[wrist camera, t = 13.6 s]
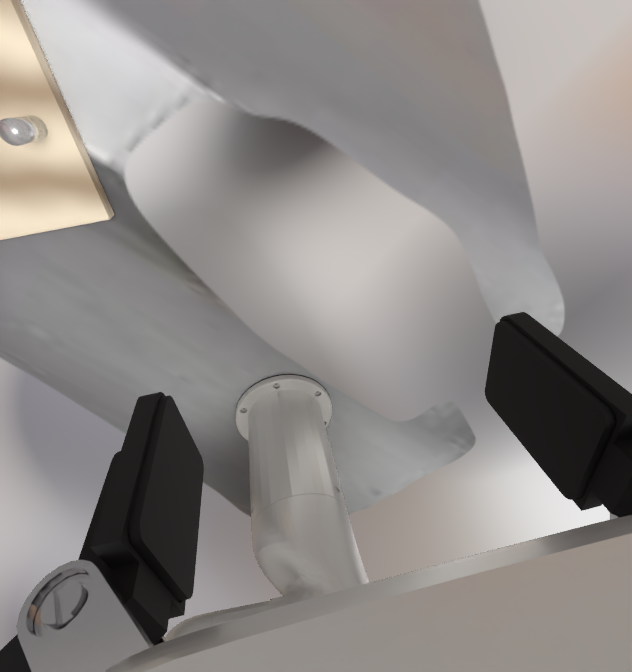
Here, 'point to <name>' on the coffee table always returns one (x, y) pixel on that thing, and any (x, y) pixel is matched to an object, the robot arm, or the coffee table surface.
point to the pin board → (39, 142)
